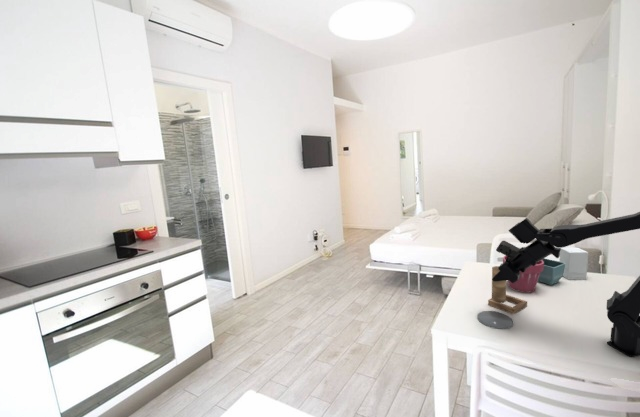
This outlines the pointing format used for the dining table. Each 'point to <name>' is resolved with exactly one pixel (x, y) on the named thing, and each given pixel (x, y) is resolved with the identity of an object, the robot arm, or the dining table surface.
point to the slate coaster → (495, 319)
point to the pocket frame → (513, 310)
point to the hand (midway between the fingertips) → (494, 277)
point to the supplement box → (574, 263)
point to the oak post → (498, 288)
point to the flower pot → (551, 271)
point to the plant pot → (527, 278)
